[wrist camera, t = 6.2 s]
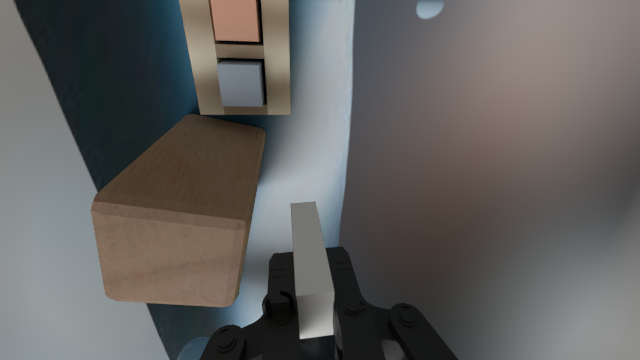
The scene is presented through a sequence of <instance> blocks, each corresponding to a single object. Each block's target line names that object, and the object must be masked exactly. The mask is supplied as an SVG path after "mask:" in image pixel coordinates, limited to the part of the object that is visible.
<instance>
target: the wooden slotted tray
mask: <svg viewBox="0 0 640 360" xmlns="http://www.w3.org/2000/svg"><path fill="white" fill-rule="evenodd" d="M179 2H180V8H181V13H182V18H183V24H184V29H185V34H186V40H187V45H188V50H189V56H190V61H191V66H192V72H193V77H194V82H195V88H196V93H197V98H198V104H199V109H200V114H201V115H291V104H290V52H289V0H261V10H262V27H263V43H264V44H254V43H225V42H223V41H222V40H216V37H215V30H214V23H213V15H212V8H211V1H210V0H179ZM225 58H256V59H265V75H266V91H267V97H265V98H264V102H263V105H262V107H240V106H222V99H221V92H220V85H219V79H218V72H217V65H216V64H218V63H220V62H222V61H224V60H225Z"/></svg>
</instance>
